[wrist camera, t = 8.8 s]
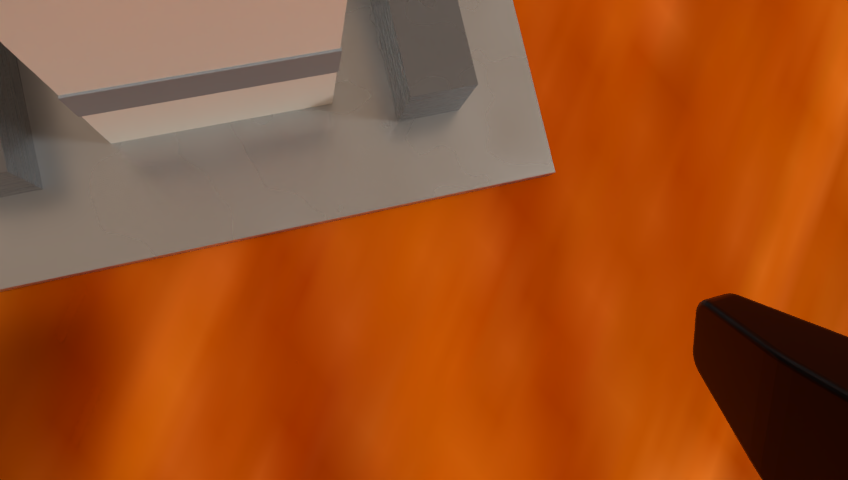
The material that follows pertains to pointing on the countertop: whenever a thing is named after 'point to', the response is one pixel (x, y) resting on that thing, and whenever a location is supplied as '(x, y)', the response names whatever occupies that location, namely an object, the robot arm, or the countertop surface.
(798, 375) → the robot arm
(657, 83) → the countertop surface
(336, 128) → the rail mount
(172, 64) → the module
